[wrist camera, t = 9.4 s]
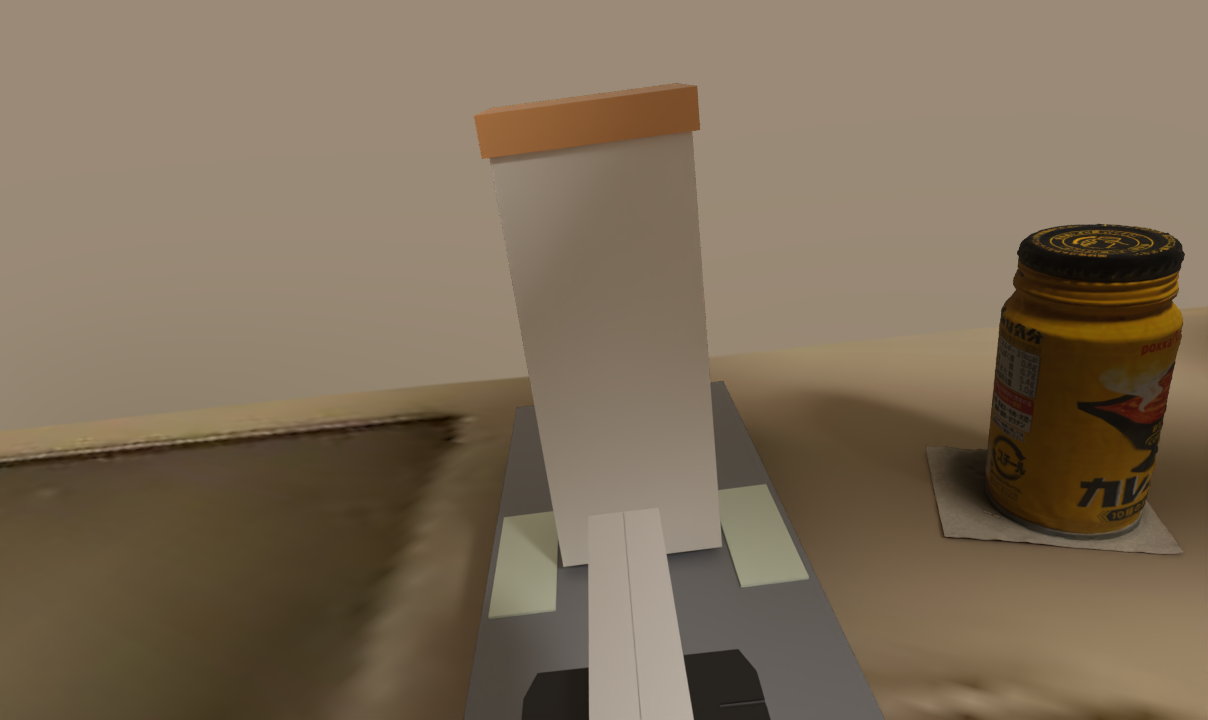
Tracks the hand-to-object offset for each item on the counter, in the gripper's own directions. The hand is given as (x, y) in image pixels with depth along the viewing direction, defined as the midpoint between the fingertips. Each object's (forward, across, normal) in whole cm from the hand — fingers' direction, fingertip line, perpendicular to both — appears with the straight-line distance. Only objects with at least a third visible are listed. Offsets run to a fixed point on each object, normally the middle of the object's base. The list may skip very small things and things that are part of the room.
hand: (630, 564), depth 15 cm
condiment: (+14, +18, -11) cm, 26 cm away
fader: (+11, 0, -7) cm, 13 cm away
